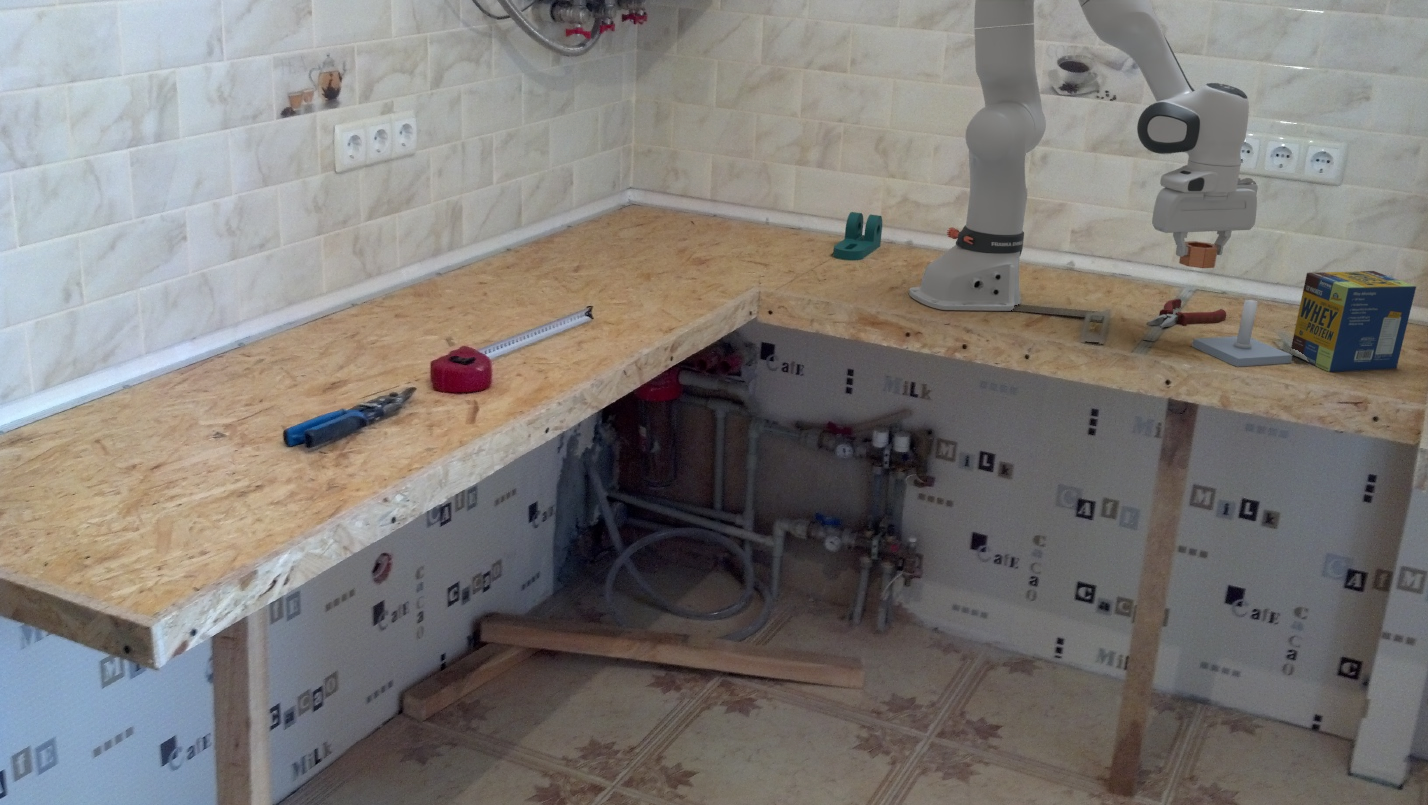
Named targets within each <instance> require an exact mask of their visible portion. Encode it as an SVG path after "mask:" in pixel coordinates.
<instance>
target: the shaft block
mask: <svg viewBox="0 0 1428 805" xmlns="http://www.w3.org/2000/svg"><path fill="white" fill-rule="evenodd" d="M1257 307H1258V301H1257V300H1255V299H1245V300H1244V302H1243V307H1242V312H1241V313H1242V314H1241V317H1240V323H1239V327H1238V333H1237V335H1233V336H1216V337H1201V338H1200V337H1199V338H1193V339H1192V344H1191V347H1192V348H1195V349H1196V350H1199V351H1200V352H1204V353H1205V354H1207V355H1209V356H1211V357H1212V356H1213V357H1214V358H1217V359H1218V360H1221V361H1222V362H1225V363H1227V364H1229V365H1233V366H1234V367H1237V368H1238V367H1241V368H1242V367H1255V366H1266V365H1267V366H1268V365H1270V366H1271V365H1282V364H1284V365H1285V364H1292V361H1293V360H1292V359H1293V355H1291V354H1290V352H1289V353H1288V352H1287V351H1283V350H1281V349H1279V348H1276V347H1274V346H1271V345H1269V344H1267V343H1265V342H1263V341H1260V340H1258V339H1256V338H1255V339H1254V338H1252V334H1253V328H1254V324H1255V317H1256V313H1257Z"/></svg>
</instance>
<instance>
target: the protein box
mask: <svg viewBox="0 0 1428 805" xmlns="http://www.w3.org/2000/svg"><path fill="white" fill-rule="evenodd" d="M1416 290H1417V286H1416V285H1414V284H1411V283H1409V282H1405V281H1403V280H1399V279H1397V278H1394V277H1393V276H1389V275H1386V274H1383V273H1380V272H1378V271H1375V270H1362V271H1359V270H1357V271H1356V270H1355V271H1328V272H1327V271H1326V272H1325V271H1324V272H1323V271H1322V272H1306V276H1305V280H1304V285H1303V290H1302V294H1301V300H1300V304H1299V309H1298V314H1297V317H1296V318H1297V319H1296V323H1295V327H1294V332H1293V337H1292V341H1291V347H1290V349H1291V348H1292V349H1295V350H1298V351H1299V352H1301V353H1302V354H1304V355H1305V356H1306V357H1307V360H1308V361H1309V363H1308V364H1310V365H1313V366H1315V367H1318V368H1319V369H1322V370H1324V371H1325V372H1329V373H1331V372H1332V373H1333V372H1334V373H1337V372H1355V371H1356V372H1357V371H1373V370H1375V371H1377V370H1395V369H1397V368H1398V363H1399V360H1400V356H1401V355H1400V354H1401V350H1402V347H1403V342H1404V339H1405V335H1406V331H1407V327H1408V323H1409V319H1410V314H1411V310H1412V306H1413V302H1414V299H1415V298H1414V297H1415V294H1416Z"/></svg>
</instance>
